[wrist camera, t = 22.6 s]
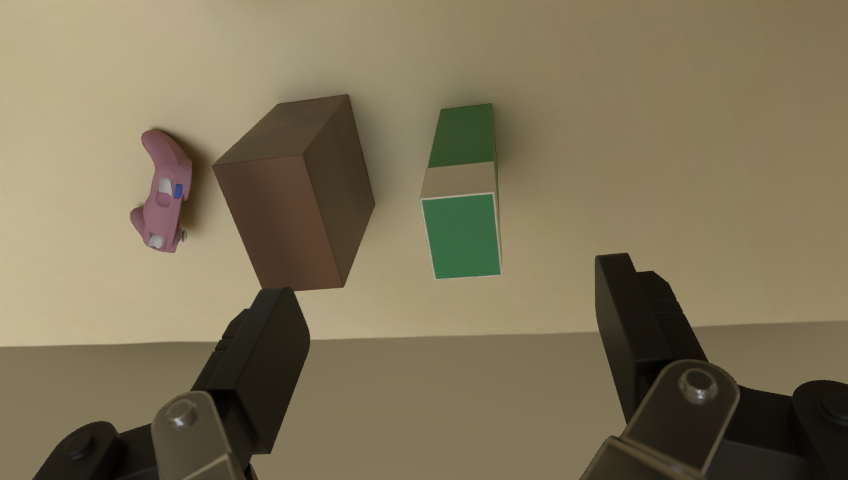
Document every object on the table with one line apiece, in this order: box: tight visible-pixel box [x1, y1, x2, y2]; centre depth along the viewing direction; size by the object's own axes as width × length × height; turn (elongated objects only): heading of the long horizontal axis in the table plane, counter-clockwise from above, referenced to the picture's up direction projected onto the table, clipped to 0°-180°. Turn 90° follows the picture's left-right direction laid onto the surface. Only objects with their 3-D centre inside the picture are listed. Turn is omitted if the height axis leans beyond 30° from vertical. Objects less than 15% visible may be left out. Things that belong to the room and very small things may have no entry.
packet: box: [420, 104, 503, 280], centre depth 36 cm, size 13×6×13 cm
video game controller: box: [130, 130, 193, 253], centre depth 45 cm, size 10×5×7 cm, turn 155°
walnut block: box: [212, 94, 375, 291], centre depth 39 cm, size 6×10×12 cm, turn 9°
